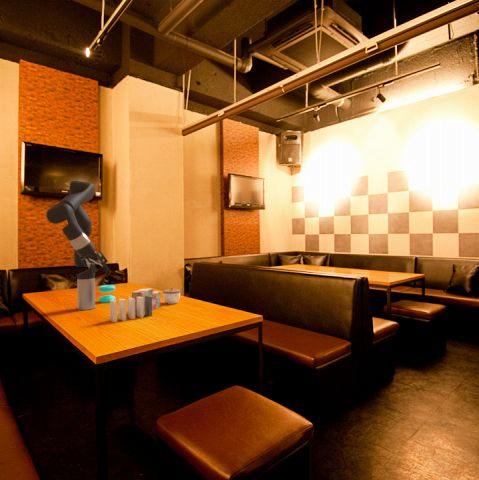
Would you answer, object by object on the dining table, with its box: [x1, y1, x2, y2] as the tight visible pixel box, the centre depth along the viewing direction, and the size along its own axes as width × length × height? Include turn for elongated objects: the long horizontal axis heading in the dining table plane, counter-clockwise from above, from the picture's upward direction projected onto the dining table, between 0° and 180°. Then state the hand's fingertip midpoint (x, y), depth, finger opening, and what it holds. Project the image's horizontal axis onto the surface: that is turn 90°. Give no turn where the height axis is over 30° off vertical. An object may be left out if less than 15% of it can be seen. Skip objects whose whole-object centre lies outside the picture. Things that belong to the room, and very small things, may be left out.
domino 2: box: [118, 298, 127, 322], centre depth 163 cm, size 5×2×10 cm, turn 39°
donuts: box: [98, 284, 116, 304], centre depth 211 cm, size 10×10×10 cm
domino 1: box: [109, 299, 118, 323], centre depth 160 cm, size 5×2×10 cm, turn 39°
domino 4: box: [136, 296, 145, 318], centre depth 169 cm, size 5×2×10 cm, turn 39°
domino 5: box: [144, 295, 153, 317], centre depth 172 cm, size 5×2×10 cm, turn 39°
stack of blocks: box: [131, 288, 161, 316], centre depth 183 cm, size 21×6×12 cm, turn 168°
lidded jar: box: [162, 287, 181, 305], centre depth 205 cm, size 11×11×9 cm
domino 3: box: [127, 297, 136, 320], centre depth 166 cm, size 5×2×10 cm, turn 39°
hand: (101, 271), depth 157 cm, fingers open, 8 cm apart
